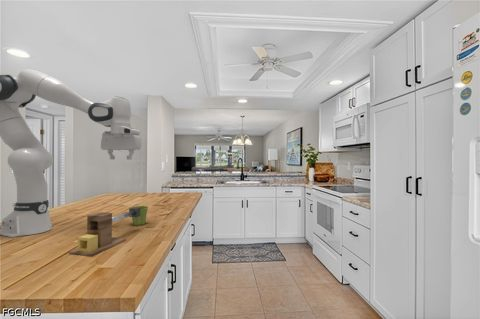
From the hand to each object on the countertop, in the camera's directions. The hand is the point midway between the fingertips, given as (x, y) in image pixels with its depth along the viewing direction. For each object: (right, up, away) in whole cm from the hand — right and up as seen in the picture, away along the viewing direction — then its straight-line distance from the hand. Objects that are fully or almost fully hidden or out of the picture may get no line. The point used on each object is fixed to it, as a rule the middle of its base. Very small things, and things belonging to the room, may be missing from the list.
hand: (120, 159), depth 121 cm
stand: (+3, -34, -23) cm, 41 cm away
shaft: (+5, -27, -12) cm, 30 cm away
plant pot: (+4, -34, +11) cm, 36 cm away
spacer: (+2, -33, -29) cm, 44 cm away
